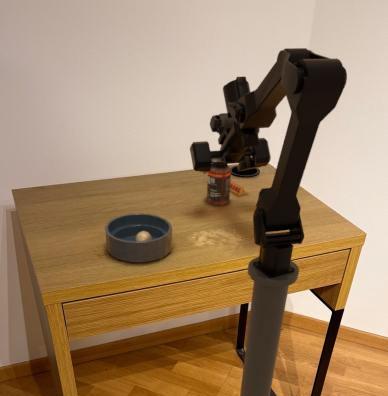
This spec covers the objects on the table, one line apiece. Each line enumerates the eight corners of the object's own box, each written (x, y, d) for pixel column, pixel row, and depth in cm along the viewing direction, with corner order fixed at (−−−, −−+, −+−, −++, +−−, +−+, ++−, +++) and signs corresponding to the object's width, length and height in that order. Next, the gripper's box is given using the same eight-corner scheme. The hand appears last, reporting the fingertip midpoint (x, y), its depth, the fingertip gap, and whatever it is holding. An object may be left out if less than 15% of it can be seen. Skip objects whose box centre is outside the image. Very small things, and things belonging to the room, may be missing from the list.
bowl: (183, 255, 106) (183, 234, 103) (121, 270, 101) (120, 248, 98) (155, 229, 116) (154, 209, 113) (97, 241, 111) (95, 220, 107)
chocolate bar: (221, 179, 142) (221, 172, 141) (246, 194, 134) (247, 186, 133) (213, 181, 141) (214, 173, 140) (238, 195, 133) (239, 187, 132)
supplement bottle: (229, 197, 132) (232, 154, 125) (228, 206, 127) (231, 162, 120) (207, 196, 132) (209, 153, 125) (205, 205, 128) (207, 161, 121)
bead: (157, 240, 106) (146, 227, 105) (144, 251, 106) (133, 237, 104) (152, 240, 109) (142, 227, 108) (140, 251, 109) (130, 238, 108)
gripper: (272, 102, 112) (249, 138, 127) (193, 105, 107) (179, 142, 122) (281, 148, 111) (257, 179, 126) (202, 154, 106) (187, 185, 121)
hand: (221, 170), depth 124 cm, fingers open, 9 cm apart
